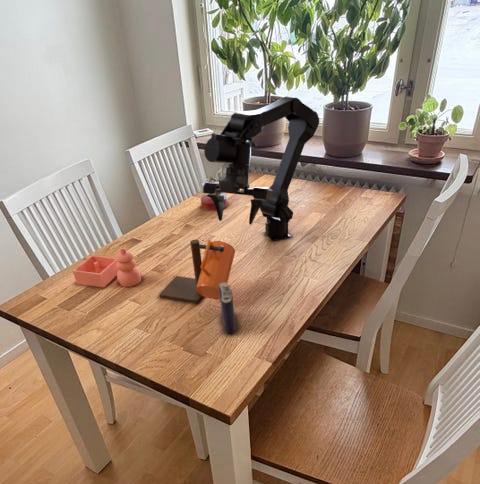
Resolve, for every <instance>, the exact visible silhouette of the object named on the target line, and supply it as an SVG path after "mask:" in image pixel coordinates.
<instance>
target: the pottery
mask: <svg viewBox="0 0 480 484" xmlns="http://www.w3.org/2000/svg"><path fill="white" fill-rule="evenodd" d="M136 262H137V261H136V260H135V259H134V254H133V252H131V251H127V249H126V248H121V249H119V252H118V253H117V254H116V255H115V257H111V256H110V257H109V256H101V255H93V254H92V255H90V256H89V257H88V258H87V259H85V260H83V262H81V264H79V265H78V266H77V267H75V268H74V269H73V270H72V274H73V277H74V280H75V282H76V284H77V285H82V286H83V285H85V286H90V287H97V288H105V287H106V286H108V285H109V283H110V282H112V281H113V280H114V279H115V278H117V281H118V283H119V285H121V286H122V287H125V288H126V287H127V288H128V287H129V288H130V287H133V286H134V287H135V286H136V285H138V284H140V282H141V281H142V273H141V271H140V270H139V268H138V267H136V265H137V263H136Z"/></svg>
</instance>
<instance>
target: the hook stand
mask: <svg viewBox="0 0 480 484" xmlns="http://www.w3.org/2000/svg"><path fill="white" fill-rule="evenodd" d="M206 245H207V244H200V240H199V239H191V240H190V250H191V259H192V266H193V272H194V278H193V277H186V276H180V275H175V276H174V277H173V279H172V280H171V281H170V282H169V283H168V284H167V285H166V286H165V287H164V289H162V290H161V292H160V293H158V295H159V298H160V299H167V300H172V301H173V300H174V301H178V302H186V303H191V304H198V303H199V302H200V300H201V299H202V298H203V296H202V295H200V294H199V293H198V292H197V291H196V288H197V283H198V280H199V276H200V272H201V264H202V253H201V250H205V249H206ZM209 250H216V251H219V252H223V251H224V247H223V246H219V247H218V246H210V249H209Z"/></svg>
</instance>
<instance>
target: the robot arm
mask: <svg viewBox="0 0 480 484" xmlns="http://www.w3.org/2000/svg"><path fill="white" fill-rule="evenodd" d="M284 118H285V120H286V121H287V122H288V126H287V131H288V137H289V138H288V141H287V144H286V146H285V149H284V152H283V155H282V158H281V159H280V163H279V166H278V168H277V171H276V174H275V176H274V179H273V183H272V184H271V185H270V186H269V187H264V186H263V187H262V186H255V187H253V188H250V183H249V181H250V180H249V179H250V174H251V172H252V168H250V164H251V155H252V148H257V147H258V144H257V143H256V142H255V141H254V138H255V137H257V136H258V135H260V134H261V133H262V132H263V131H264V128H265V127H266V126H268V125H271V124H272V123H273V124H274V123H275V122H278V121H279V120H281V119H284ZM319 126H320V117H319V114H318V112H317V111H315V110H313V108H311V107H309V106H308V105H307V104H305V103H304V102H303V101H301V100H300V99H299V98H298V97H295V96H284V97H282V98H280V99H279V100H276V101H274V102H272V103H270V104H267V105H265V106H263V107H260V108H257V109H255V110H243V111H237V112H236V111H235V112H234V113H232V114H231V116H230V120H229V121H228V122H227V124H226V125H225V127H224V128H223V129H222V131H221V132H220V134H219V133H214V132H212V133H211V136H210V138H209V139H208V140H207V142H206V143H205V145H204V151H203V152H204V156H205V159H206V160H207V161H208V162H210V163H219V164H228V166H227V167H226V169H225V174H224V175H222V176H221V177H220V178H218V182H205V184H204V186H203V187H202V193H203V194H206V195H207V193H208V195H207V196H208V197H210V198H211V199H212V200H213V202H214V205H215V207H216V210H215V211H216V214H217V218H218V221H220V222H222V220H223V216H224V208H223V206H224V195H221V193H224V194H230V195H231V194H232V195H241V196H250V197H251V196H252V197H253V198H252V199H250V212H249V217H248V218H249V219H248V225H250V226H251V225H253V222H254V220H255V218H256V216H257V214H258V212H259V211H260V212H261V214H262V217H263V218H266V222H265V225H264V226H265V232H264V235H266V236H267V237H268V239H270V240H271V241H272V242H274V241H279V240H285V239H289V238H291V235H290V233H289V223H290V221H291V220H292V219H293V216H294V211H293V210H292V209H291V208H290V207H289V202H290V198H289V188H290V185H291V183H292V180H293V177H294V174H295V172H296V169H297V166H298V163H299V161H300V158H301V156H302V153H303V150H304V147H305V145H306V143H308V142H309V141H310V140H311V139H312V138H313V137H314V135H315V133H316V131H317V129H318V127H319Z"/></svg>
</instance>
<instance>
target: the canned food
mask: <svg viewBox="0 0 480 484" xmlns="http://www.w3.org/2000/svg"><path fill="white" fill-rule="evenodd" d="M205 183H206V182H205V181H204V182H202V184H201V186H202V188H203V186H204V184H205ZM207 195H208V193H206V194H205V195H202V196H201V197H200V205H201V206H200V207H201V209H203V210H205V211H211V212H212V211H216V207H215V205H214V202H213V200H212V199H211V198H210V197H208V196H207ZM221 195H224V206H223V209H225V208H226V207H227V206H228V200H227V195H226V193H221Z"/></svg>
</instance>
